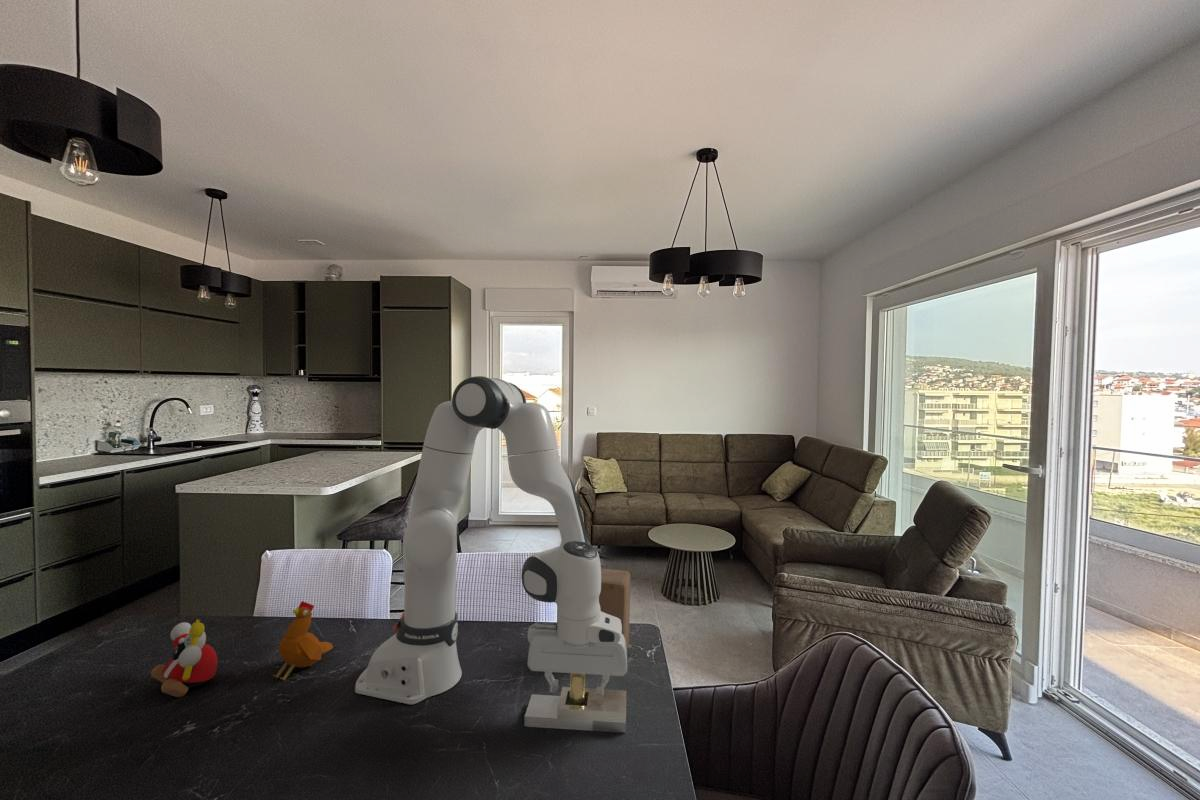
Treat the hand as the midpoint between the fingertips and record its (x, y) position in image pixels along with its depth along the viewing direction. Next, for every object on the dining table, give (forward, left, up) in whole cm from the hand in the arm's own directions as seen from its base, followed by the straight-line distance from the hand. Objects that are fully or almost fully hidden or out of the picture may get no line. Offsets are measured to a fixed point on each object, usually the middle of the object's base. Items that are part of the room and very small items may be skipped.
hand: (577, 691), depth 99 cm
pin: (0, 0, -5) cm, 5 cm away
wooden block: (+5, +25, -6) cm, 26 cm away
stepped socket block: (0, 0, -5) cm, 5 cm away
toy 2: (-66, +12, -6) cm, 67 cm away
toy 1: (-86, +2, -6) cm, 86 cm away
